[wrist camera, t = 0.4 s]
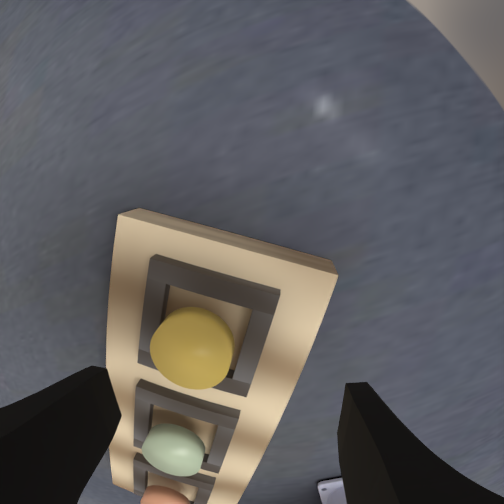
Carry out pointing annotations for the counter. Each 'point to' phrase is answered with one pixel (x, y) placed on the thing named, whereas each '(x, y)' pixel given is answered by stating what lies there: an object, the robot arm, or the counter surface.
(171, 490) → the terracotta button
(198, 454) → the sage button
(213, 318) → the mustard button
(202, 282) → the button console
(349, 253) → the counter surface
